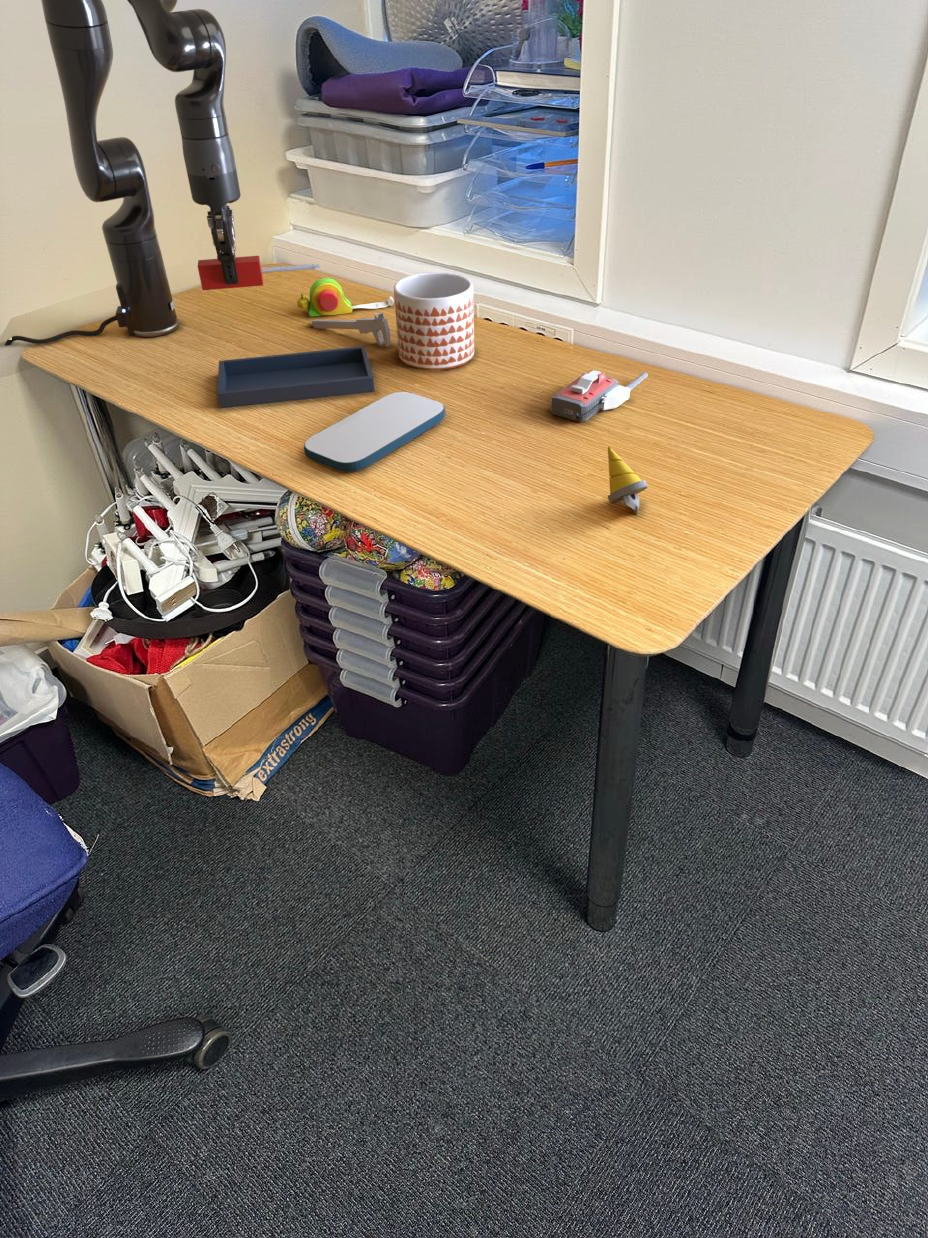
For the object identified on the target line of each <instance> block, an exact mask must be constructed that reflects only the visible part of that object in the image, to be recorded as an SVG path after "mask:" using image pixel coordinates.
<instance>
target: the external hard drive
mask: <svg viewBox="0 0 928 1238" xmlns="http://www.w3.org/2000/svg"><path fill="white" fill-rule="evenodd" d="M445 417H446V408H445V405H444V404H443V403H442V402H440V401H438V400H435V399H432V398H429V397H426V396H423V395H420V394H417V393H415V392H410V391H397V392H392V393H389V394H387V395H384V396H382V397H381V398H379V399H377V400H376V401H375V400H374V401H373V402H371V403H370V404H368V405H366V406H365V407H363V408H360V409H358V410H357V411H355V412H353V413H351V414H350V415H348V416H346V417H344V418H342V419H341V420H338V421H337V422H335V423H333V424H331V425H330V426H328V427H325V428H324V429H322V430H320V431H318V432H317V433H315V434H313V435H312V436H309V438H307V439H306V440H305V442H304V444H303V451H304V455H305V456H306V458H307V459H309V460H310V461H312V462H315V463H317V464H320V465H322V466H324V467H327V468H329V469H332V470H334V471H337V472H340V473H354V472H358V471H361V470H364V469H365V468H367V467H370V466H372V465H373V464H375V463H376V462H378V461H379V460H381V459H383V458H384V457H386V456H388V455H389V454H391V453H392V452H394V451H396V450H397V449H399V448H401V447H403V446H404V445H406V444H407V443H410V442H411V441H413V440H414V439H416V438H418V437H419V436H421V435H422V434H424V433H426V432H427V431H429V430H430V429H432V428H435V426H437V425H439V424H440V423H441V422H442V421H443V420H444V419H445Z"/></svg>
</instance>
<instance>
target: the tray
mask: <svg viewBox="0 0 928 1238" xmlns="http://www.w3.org/2000/svg"><path fill="white" fill-rule="evenodd" d="M217 373H218V374H217V387H216V396H217V400H218V406H219V409H229V408H237V407H238V408H239V407H248V406H259V405H267V404H268V405H269V404H275V403H287V402H295V401H302V400H303V401H305V400H314V399H323V398H330V397H332V398H333V397H342V396H349V395H350V396H351V395H359V394H367V393H375V392H376V391H375V390H376V389H375V381H374V376H373V371H372V367H371V362H370V359H369V355H368V352H367V347H366V346H365V345H361V346H353V347H352V346H351V347H341V348H333V349H322V350H312V351H304V352H303V351H301V352H294V353H293V352H292V353H283V354H272V355H263V356H254V357H253V356H252V357H244V358H234V359H224V360H218V372H217Z"/></svg>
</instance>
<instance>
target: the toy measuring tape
mask: <svg viewBox="0 0 928 1238" xmlns="http://www.w3.org/2000/svg"><path fill="white" fill-rule="evenodd" d="M296 303H297V305H296V306H298V308H299V309H300V310H303V311H304V310H307V314H308V316H309V317H312V318H313V317H321V316H337V315H345V314H352V313H353V310H355V309H356V310H357V309H366V310H367V309H370V310H376V309H382V308H388V307H389V306H390V307H393V306H395V299H394V297H392V295H391V296H390V295H389V296H387V298H386V301H379V302H371V303H364V304H357V305H352V303H351V301H350V300H349V299H348V298H346V296H345V293H344V291H343V289H342V286H341V285H340V284H339V282H338V281H336V279H333V278H331V277H321V278H319V279H317V280H315V281H314V282H313V283H312V285H311V286H310V289H309V299H308V297H306V294H305V292H301V294H300V297H298V298H297V300H296Z"/></svg>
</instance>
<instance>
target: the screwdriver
mask: <svg viewBox="0 0 928 1238" xmlns="http://www.w3.org/2000/svg"><path fill="white" fill-rule="evenodd" d="M235 265H236V270H237V276H238V283H237V284H231V285H227V284H225V281H224V276H223V271H222V266H221V262H219V260H218V259H217V258H209V259H198V260H197V271H198V276H199V279H200V280H199V281H200V284H201V290H202V291H212V290H225V289H239V288H250V287H251V288H252V287H262V286H264V276H263V274H269V273H283V272H291V271H292V272H294V271H305V270H306V271H307V270H315V269H320V268H321V265H320V264H319V263H318V264H317V263H316V264H315V263H307V264H296V265H283V266H282V265H281V266H269V267H262V265H261V259H260V255H249V256H236V257H235Z"/></svg>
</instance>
